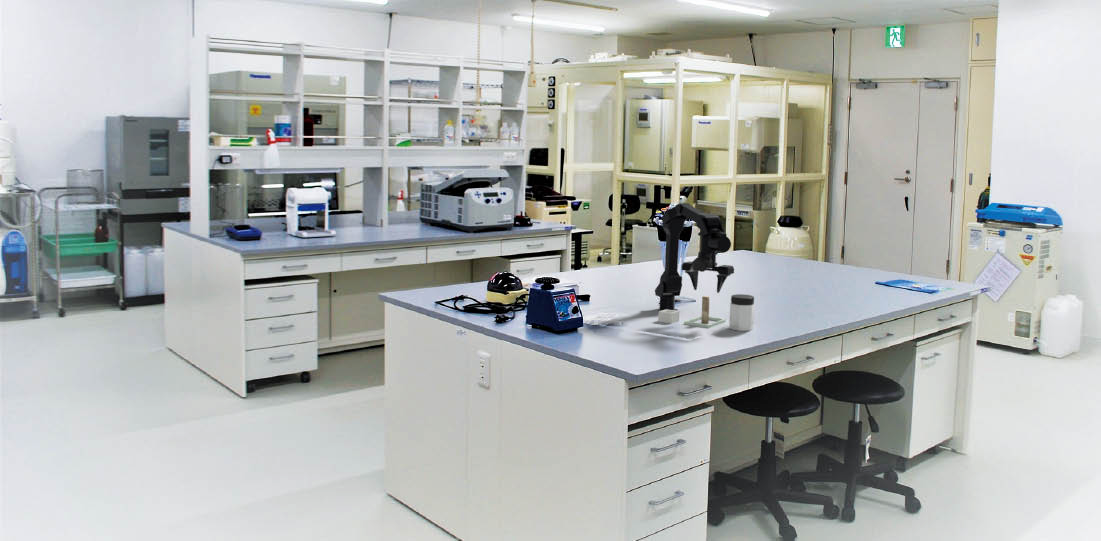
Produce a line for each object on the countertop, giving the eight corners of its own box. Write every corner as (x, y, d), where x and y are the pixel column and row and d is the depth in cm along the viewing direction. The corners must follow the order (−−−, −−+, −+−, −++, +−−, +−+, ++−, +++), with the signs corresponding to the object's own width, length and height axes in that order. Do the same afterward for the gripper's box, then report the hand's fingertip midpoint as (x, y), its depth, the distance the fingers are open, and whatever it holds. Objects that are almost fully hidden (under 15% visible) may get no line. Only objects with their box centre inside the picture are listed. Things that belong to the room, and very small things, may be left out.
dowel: (703, 322, 331) (704, 295, 329) (709, 323, 329) (710, 296, 328) (700, 323, 329) (701, 296, 327) (706, 324, 327) (707, 297, 326)
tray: (701, 320, 338) (701, 315, 337) (725, 323, 332) (726, 319, 332) (684, 326, 327) (684, 321, 326) (708, 330, 321) (708, 325, 320)
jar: (732, 325, 330) (734, 293, 328) (754, 327, 326) (756, 295, 324) (727, 329, 322) (728, 297, 320) (749, 332, 318) (751, 299, 316)
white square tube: (665, 321, 335) (666, 309, 335) (678, 323, 332) (679, 311, 331) (658, 323, 331) (658, 311, 330) (671, 325, 328) (671, 313, 327)
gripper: (674, 249, 324) (673, 291, 326) (721, 253, 313) (720, 297, 315) (689, 246, 333) (688, 287, 335) (735, 250, 322) (733, 293, 324)
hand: (706, 291), depth 327 cm, fingers open, 9 cm apart
